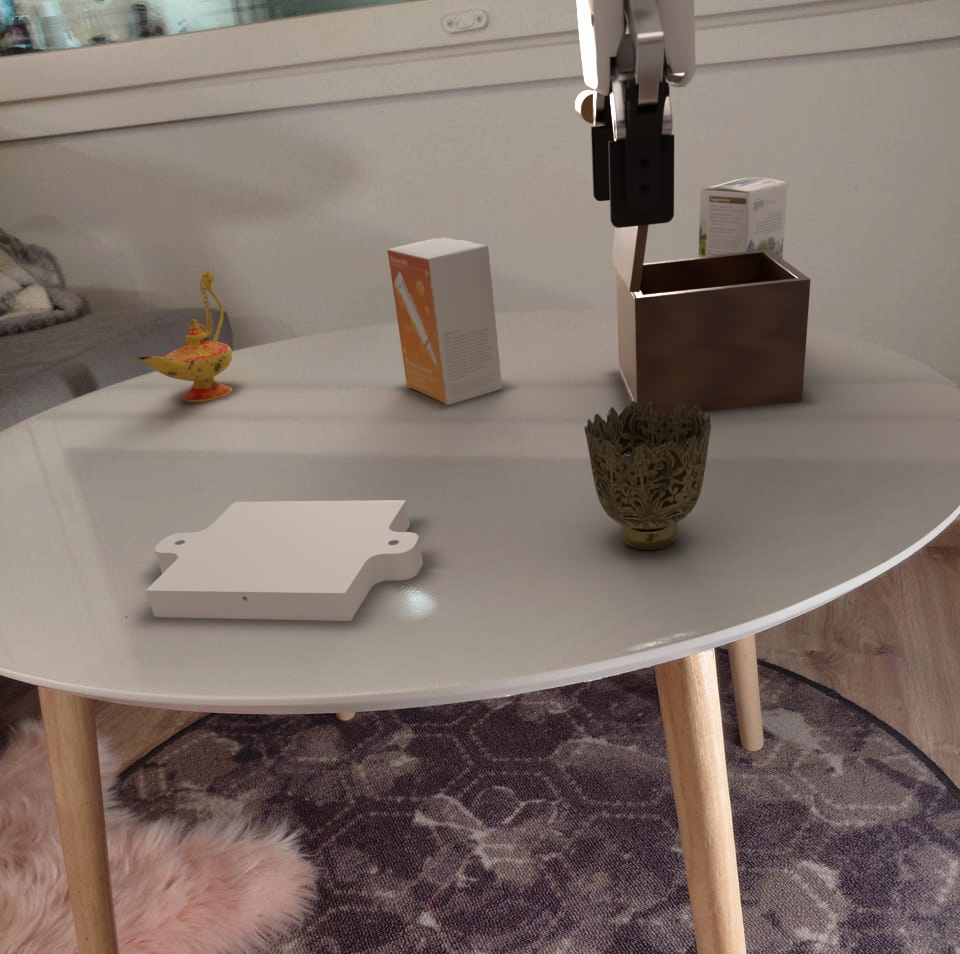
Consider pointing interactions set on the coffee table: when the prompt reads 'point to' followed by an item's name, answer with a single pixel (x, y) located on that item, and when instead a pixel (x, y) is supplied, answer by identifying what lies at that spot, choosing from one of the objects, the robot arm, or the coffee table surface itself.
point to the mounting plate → (285, 560)
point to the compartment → (714, 332)
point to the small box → (446, 318)
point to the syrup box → (742, 217)
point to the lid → (626, 239)
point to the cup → (648, 469)
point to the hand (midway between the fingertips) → (630, 210)
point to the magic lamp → (198, 356)
